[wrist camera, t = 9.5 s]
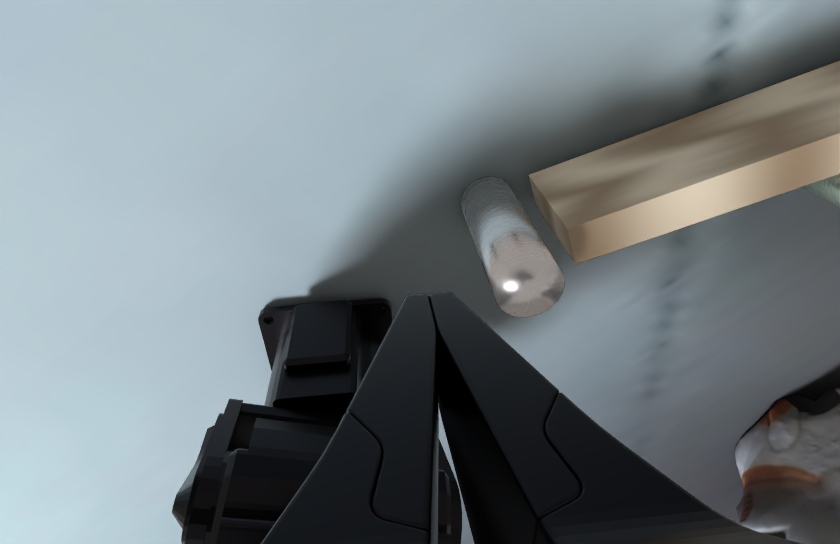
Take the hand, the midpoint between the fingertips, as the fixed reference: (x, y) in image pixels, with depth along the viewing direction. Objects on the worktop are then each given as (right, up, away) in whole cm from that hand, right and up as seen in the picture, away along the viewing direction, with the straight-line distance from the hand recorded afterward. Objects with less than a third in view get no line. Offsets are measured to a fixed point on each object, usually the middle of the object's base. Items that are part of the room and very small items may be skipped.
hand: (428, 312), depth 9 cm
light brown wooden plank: (+13, +7, +12) cm, 19 cm away
